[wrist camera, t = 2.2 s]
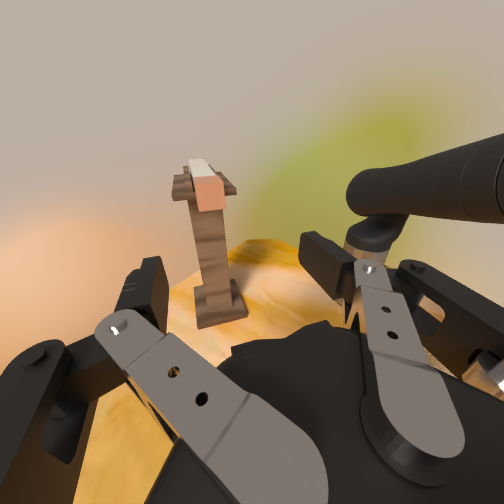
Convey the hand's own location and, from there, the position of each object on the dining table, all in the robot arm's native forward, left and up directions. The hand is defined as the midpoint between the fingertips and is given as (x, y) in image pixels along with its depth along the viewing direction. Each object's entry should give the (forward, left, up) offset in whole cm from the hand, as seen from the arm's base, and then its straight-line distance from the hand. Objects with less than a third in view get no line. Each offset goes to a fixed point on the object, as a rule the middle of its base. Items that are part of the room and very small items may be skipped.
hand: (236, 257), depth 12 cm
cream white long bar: (-19, -18, -2) cm, 26 cm away
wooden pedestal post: (-22, -22, -34) cm, 46 cm away
